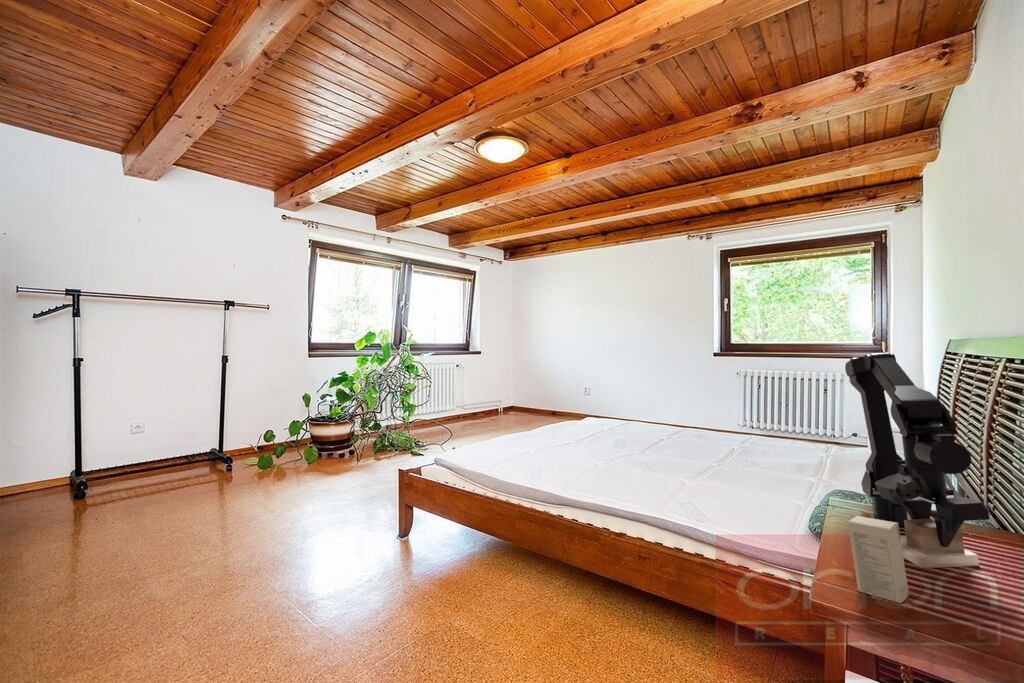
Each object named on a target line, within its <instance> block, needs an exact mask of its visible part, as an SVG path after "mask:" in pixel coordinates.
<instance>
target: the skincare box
mask: <svg viewBox="0 0 1024 683" xmlns="http://www.w3.org/2000/svg"><path fill="white" fill-rule="evenodd" d="M847 525H848V532H849V537H850V538H849V540H850V546H851V552H852V559H853V566H854V573H855V581H856V586H857V591H858V592H860V593H864V594H867V595H871V596H874V597H877V598H881V599H884V600H887V601H892V602H895V603H899V604H902V603H903V602H904V601H905V600H906V599H907V598H908V597H909V595H910V591H909V587H908V580H907V579H908V578H907V574H906V566H905V560H904V559H905V558H903V551H902V545H901V538H900V536H901V533H900V526H898V523H896V522H890V521H885V520H879V519H874V518H868V516H862V515H861V516H860V515H856V516H854V517H852V518H850V519H849V520H847Z"/></svg>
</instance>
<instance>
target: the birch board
mask: <svg viewBox="0 0 1024 683" xmlns="http://www.w3.org/2000/svg"><path fill="white" fill-rule="evenodd" d="M900 538H901V545H902V551H903V558H904V559H905V560H907V561H909V562H911V563H913V564H914V565H915V566H918V567H920V568H921V569H932V568H933V569H935V568H956V567H957V568H958V567H977V566H980V562H979V555H978V554H976V553H974V552H972V551H970V550H969V549H965V548H964V551H965V553H953V554H931V555H925V554H923V553H921V552H919V551H917V550H915V549H914V548H912V547H910V546H908V545H907V542H906V534H905V535H900Z"/></svg>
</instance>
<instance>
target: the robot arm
mask: <svg viewBox="0 0 1024 683" xmlns="http://www.w3.org/2000/svg"><path fill="white" fill-rule="evenodd" d="M844 366H845V367H844V369H845V374H846V376H847V377H849V381H850V382H849V383H850V385H851V386H852V387H854V389H855V390H857V391H858V392H859V394H860V397H861V403H862V408H863V409H862V410H863V414H864V418H865V424H866V425H865V426H866V429H867V435H868V441H869V446H870V450H871V453H870V455H869V457H868V459H867V461H866V462H865V471H864V473H863V476H862V480H861V487H862V492H863V493H864V494H865V495H867V497H869V498H871V500H872V501H871V502H872V509H873V514H867V516H866V517H868V518H874V519H879V520H885V521H890V522H896V523H898V526H899V527H900V526H902V527H903V526H905V525H904V520H909V518H910V520H911V519H931V518H933V519H934V520H935V524H936V529H937V533H938V538H939V541H940V545H941V546H942V547H948V546H949V545H950V543H951V541H952V540H953V538H954V536H955V534H956V533H957V531H958V529H959V528H960V526H961V527H962V525H963V524H964V522H966V521H968V522H969V521H988V520H991V517H990V516H991V515H990V509H989V507H988V506H987V505H986V504H985V503H983V502H981V501H978V500H975V499H971V498H969V497H967V496H966V497H965V496H964V497H951V496H955V491H954V489H951V488H948V487H947V476H946V475H956V474H960V473H963V472H965V471H966V470H968V469H969V467H970V465H971V463H972V456H971V454H970V452H969V451H968V449H967V448H966V447H965V446H963V445H962V444H960V443H958V442H955V435H956V436H958V434H959V432H958V429H957V426H958V424H957V422H955V420H954V418H953V416H951V413H950V412H949V410H948V409H947V408H946V406H945V404H944V403H942V401H940V400H939V399H938V397H936V396H935V395H934V394H933V393H931V392H930V391H928V390H925V389H922V388H919V387H917V386H916V384H915V382H913V381H912V379H911V378H910V377H909V375H908V374H906V372H905V370H903V368H902V367H901V366H900V364H899V363H898V362H897V358H896V356H895V354H894V353H891V352H886V351H885V352H875V353H873V352H871V353H868V354H865V355H863V356H860V357H851V358H850V359H849V360H848V361H847V362H845V365H844ZM885 392H886V393H887V395H888V396H889V398H890V400H891V405H890V414H889V408H888V404H887V398H886V393H885ZM890 416H891V417H892V420H893V421H894V424H896V426H897V427H898V429H899V434H900V435H901V440H902V446H903V455H904V456H903V457H904V459H903V458H902V457H901V456H900V455H899V454H898V453H897V448H896V443H895V439H894V433H893V428H892V425H891V419H890ZM948 496H950V497H948ZM933 505H934V506H935V510H932V506H933ZM908 515H909V517H908Z"/></svg>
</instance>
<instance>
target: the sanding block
mask: <svg viewBox="0 0 1024 683" xmlns="http://www.w3.org/2000/svg"><path fill="white" fill-rule="evenodd" d="M903 526H904V531H905V535H906V542H907V545H908V546H910V547H912V548H914V549H915V550H917V551H919V552H921V553H923V554H925V555H931V554H953V553H965V551H964V549H965V544H964V536H963V529H962V525H961V526H960V528H959V529H958V531H957V533H956V534H955V536H954V538H953V540H952V541H951V543H950V545H949V546H948V547H942V546H941V545H940V541H939V538H938V533H937V529H936V524H935V520H934V519H933V518H932V517H930V519H911V518H910V519H908V520H904V525H903Z"/></svg>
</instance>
